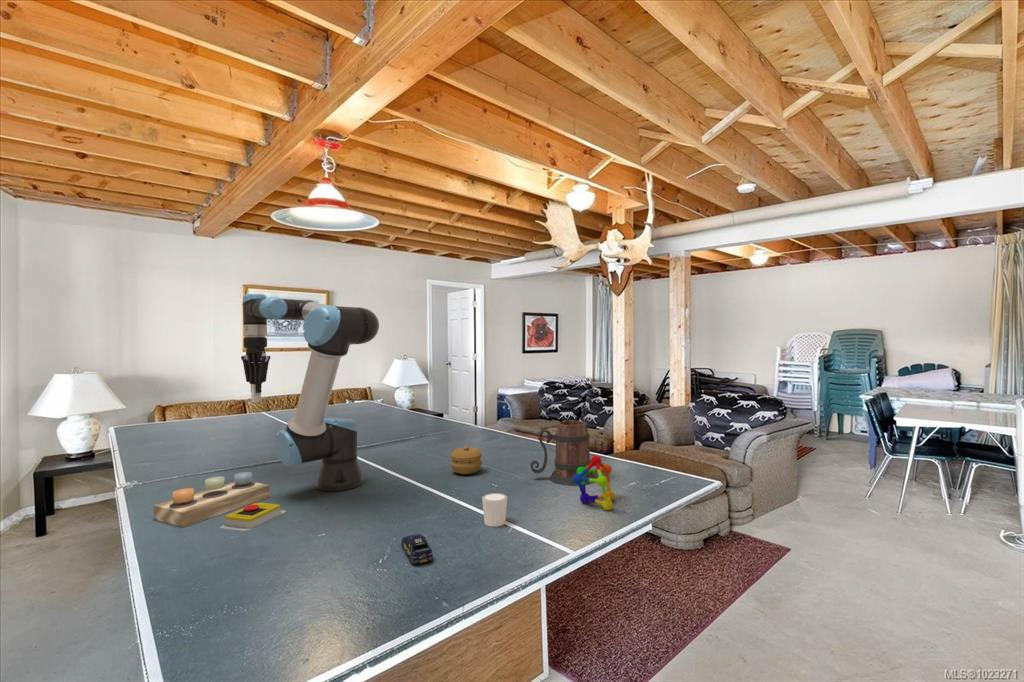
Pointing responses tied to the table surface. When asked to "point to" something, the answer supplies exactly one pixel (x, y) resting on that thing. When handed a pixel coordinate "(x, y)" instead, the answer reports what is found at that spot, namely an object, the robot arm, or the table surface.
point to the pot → (466, 460)
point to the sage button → (214, 483)
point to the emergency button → (251, 516)
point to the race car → (417, 549)
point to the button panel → (210, 503)
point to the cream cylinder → (494, 509)
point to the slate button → (242, 478)
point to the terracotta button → (183, 495)
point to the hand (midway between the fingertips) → (256, 401)
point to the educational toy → (601, 481)
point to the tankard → (567, 452)
